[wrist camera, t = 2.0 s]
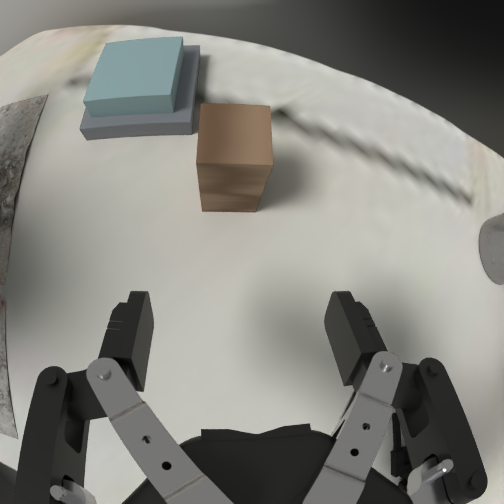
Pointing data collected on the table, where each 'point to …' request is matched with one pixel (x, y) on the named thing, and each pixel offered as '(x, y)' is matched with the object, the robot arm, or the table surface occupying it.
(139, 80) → the tower top slab
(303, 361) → the table surface
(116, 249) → the table surface
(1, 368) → the valve
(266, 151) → the walnut pillar
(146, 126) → the tower base slab
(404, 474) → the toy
